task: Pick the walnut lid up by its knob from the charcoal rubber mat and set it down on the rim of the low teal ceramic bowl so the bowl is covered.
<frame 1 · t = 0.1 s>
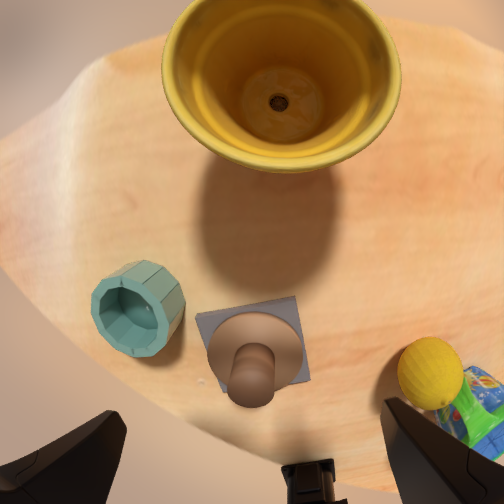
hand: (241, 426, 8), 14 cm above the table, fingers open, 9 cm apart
lemon: (412, 346, 22), on the table
lid: (255, 352, 22), point 1 cm above the table, touching mat
plant pot: (279, 107, 19), on the table
mat: (256, 347, 23), on the table
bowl: (147, 298, 23), on the table
snack cup: (456, 389, 23), on the table
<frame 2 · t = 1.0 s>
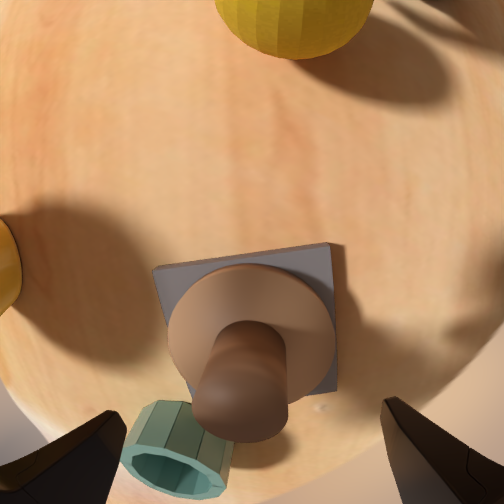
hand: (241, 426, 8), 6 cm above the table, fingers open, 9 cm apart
lemon: (288, 37, 10), on the table
lid: (251, 340, 13), point 1 cm above the table, touching mat
plant pot: (1, 260, 15), on the table
mat: (252, 332, 14), on the table
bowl: (185, 433, 16), on the table
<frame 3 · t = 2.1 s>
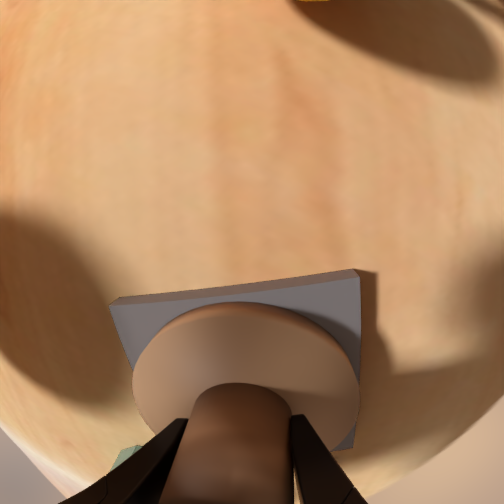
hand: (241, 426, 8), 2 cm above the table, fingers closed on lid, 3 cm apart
lid: (245, 398, 9), point 1 cm above the table, touching gripper, mat
mat: (247, 384, 10), on the table
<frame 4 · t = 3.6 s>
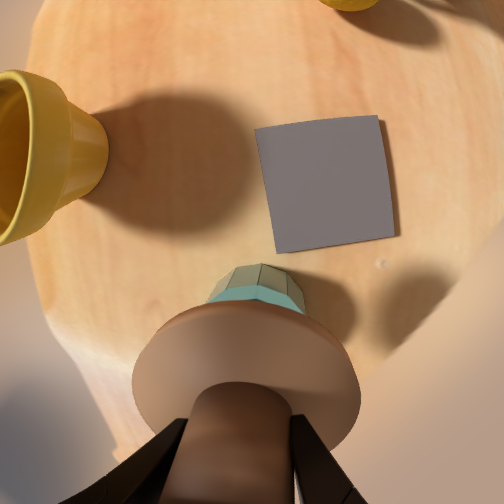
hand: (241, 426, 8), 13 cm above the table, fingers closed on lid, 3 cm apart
lemon: (336, 3, 14), on the table
lid: (245, 397, 9), point 11 cm above the table, touching gripper
plant pot: (80, 157, 19), on the table
mat: (327, 182, 18), on the table
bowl: (257, 309, 20), on the table
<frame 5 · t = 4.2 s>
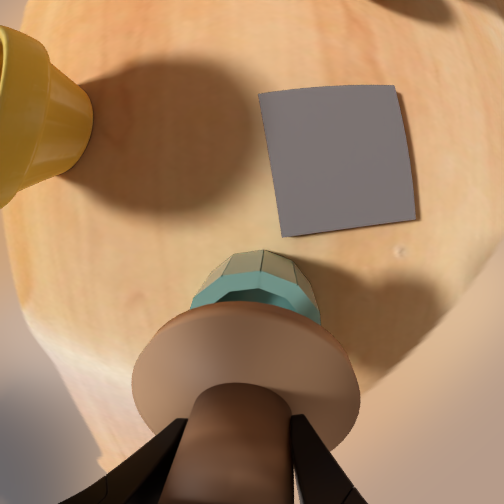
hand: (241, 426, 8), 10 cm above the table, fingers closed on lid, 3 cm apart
lid: (245, 398, 9), point 9 cm above the table, touching gripper
plant pot: (62, 131, 16), on the table
mat: (340, 156, 15), on the table
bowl: (257, 304, 17), on the table
when the fingers open (7 cm above the table, at t = 4.9 s): lid drops 2 cm, resting on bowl.
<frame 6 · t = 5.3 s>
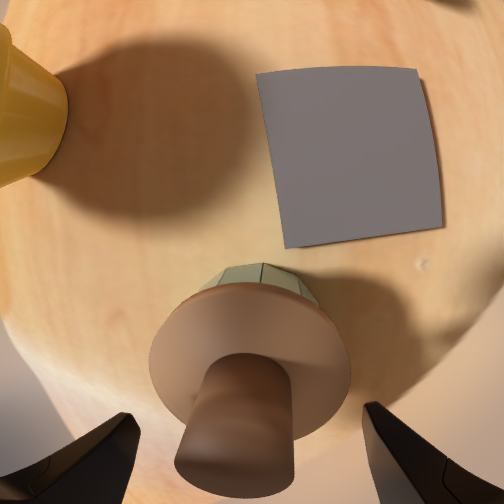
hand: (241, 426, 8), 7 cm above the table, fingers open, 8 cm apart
lid: (249, 371, 11), point 4 cm above the table, touching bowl
plant pot: (37, 127, 13), on the table
mat: (356, 149, 12), on the table
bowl: (255, 325, 14), on the table
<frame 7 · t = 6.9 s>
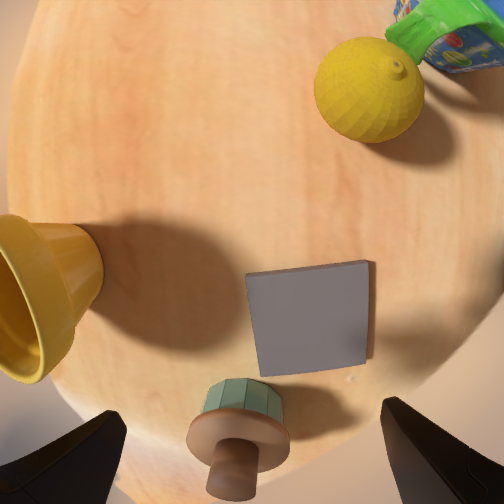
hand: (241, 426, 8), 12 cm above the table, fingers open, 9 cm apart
lemon: (347, 109, 16), on the table
lid: (238, 440, 18), point 4 cm above the table, touching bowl
plant pot: (75, 264, 20), on the table
mat: (310, 320, 19), on the table
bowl: (243, 406, 22), on the table
snack cup: (431, 35, 14), on the table
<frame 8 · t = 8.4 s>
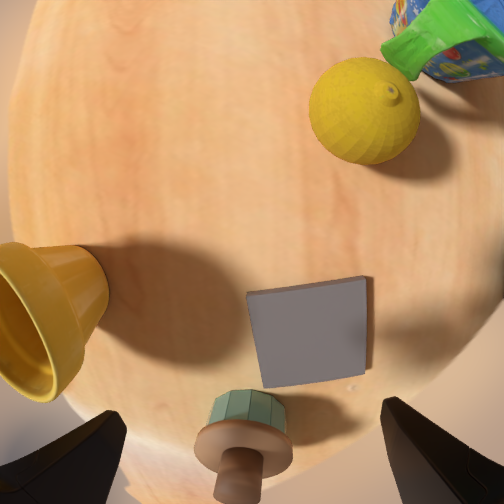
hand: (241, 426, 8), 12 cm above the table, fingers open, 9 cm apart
lemon: (344, 126, 16), on the table
lid: (243, 448, 18), point 4 cm above the table, touching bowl
plant pot: (81, 283, 21), on the table
mat: (310, 335, 20), on the table
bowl: (248, 415, 22), on the table
snack cup: (428, 43, 14), on the table
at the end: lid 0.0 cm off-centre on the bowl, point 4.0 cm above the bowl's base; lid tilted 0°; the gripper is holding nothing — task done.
